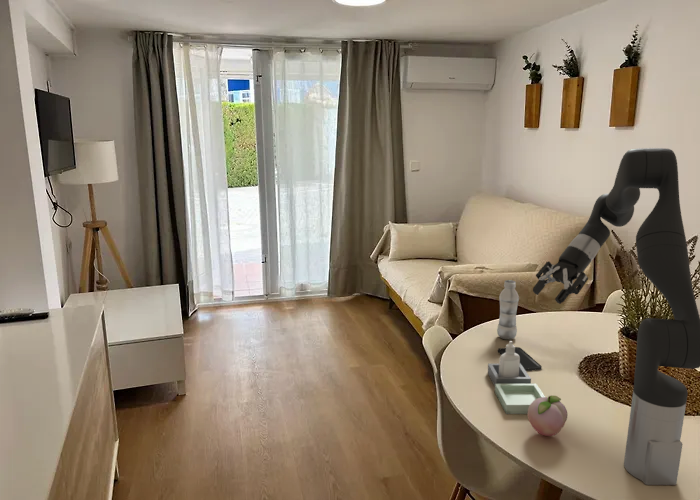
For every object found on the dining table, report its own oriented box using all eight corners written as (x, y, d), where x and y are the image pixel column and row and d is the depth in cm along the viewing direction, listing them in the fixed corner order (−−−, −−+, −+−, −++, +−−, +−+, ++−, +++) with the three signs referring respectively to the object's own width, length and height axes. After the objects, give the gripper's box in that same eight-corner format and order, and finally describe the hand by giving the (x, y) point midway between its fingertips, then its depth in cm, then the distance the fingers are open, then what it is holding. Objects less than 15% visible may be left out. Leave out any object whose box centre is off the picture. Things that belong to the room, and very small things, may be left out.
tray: (550, 413, 129) (550, 404, 129) (506, 413, 130) (506, 404, 129) (535, 391, 140) (536, 383, 139) (494, 392, 140) (495, 383, 140)
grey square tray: (530, 388, 142) (531, 378, 141) (495, 388, 142) (496, 378, 141) (519, 372, 151) (520, 363, 150) (487, 372, 151) (488, 363, 150)
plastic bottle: (496, 340, 174) (499, 283, 169) (496, 333, 180) (500, 278, 175) (516, 342, 172) (520, 285, 167) (516, 335, 178) (520, 279, 174)
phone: (519, 346, 167) (543, 367, 153) (519, 350, 167) (542, 370, 153) (496, 348, 166) (518, 369, 152) (496, 351, 166) (517, 372, 152)
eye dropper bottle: (519, 385, 144) (522, 345, 141) (498, 383, 145) (501, 343, 142) (517, 377, 148) (520, 338, 145) (497, 376, 149) (499, 337, 146)
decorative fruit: (534, 420, 127) (537, 382, 124) (569, 432, 122) (573, 393, 119) (519, 437, 120) (522, 398, 117) (555, 451, 115) (559, 410, 112)
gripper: (554, 240, 152) (521, 282, 150) (594, 250, 140) (559, 297, 138) (566, 255, 156) (534, 297, 154) (606, 267, 143) (571, 312, 141)
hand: (545, 297), depth 146 cm, fingers open, 8 cm apart
